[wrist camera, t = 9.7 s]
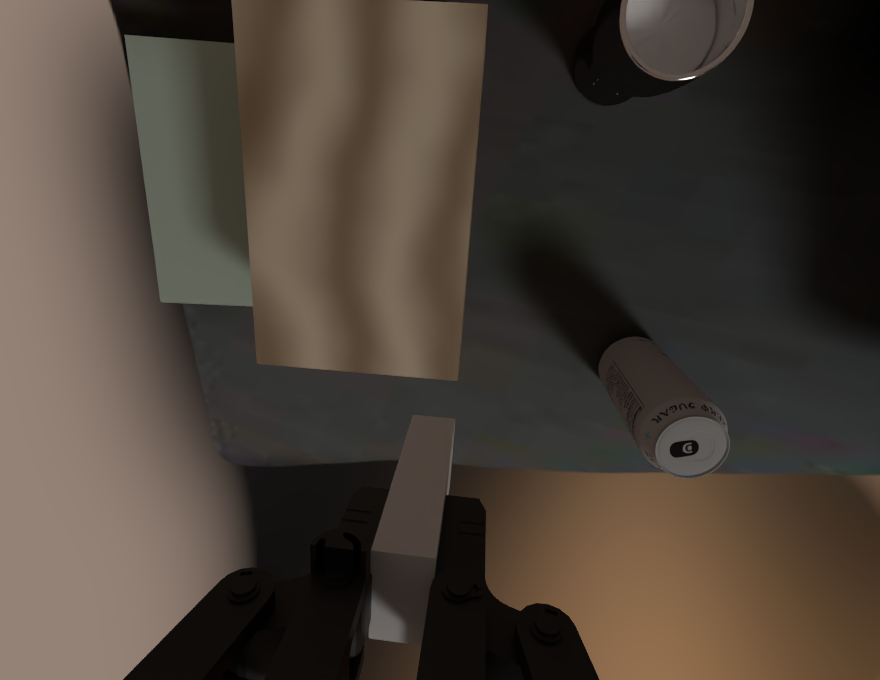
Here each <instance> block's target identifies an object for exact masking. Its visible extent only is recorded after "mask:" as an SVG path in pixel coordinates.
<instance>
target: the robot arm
mask: <svg viewBox="0 0 880 680" xmlns="http://www.w3.org/2000/svg"><path fill="white" fill-rule="evenodd" d="M454 429H455V419H450V418H440V417H431V416H422V415H413V416H412V420H411V423H410V426H409V429H408V433H407V436H406V439H405V442H404V445H403V449H402V452H401V455H400V458H399V462H398V465H397V468H396V472H395V475H394V478H393V481H392V484H391V487H390V490H389V489H381V488H380V489H379V488H372V487H363V486H362V487H361V488H360V489H359V490H358V491H357V492H356V493H354V494H353V495H352V496H351V498H350V500H349V503H348V505H347V507H346V511H345V513H344V515H343V517H342V521H341V522H340V524H339V526H338V529H332V530H329V531H325V532H323V533H322V534H320V535H319V536H317V537H316V538H315V539H314V540H313V542H312V543H311V545H310V551H311V573H310V574H308V575H305V576H303V577H300V578H296V579H291V580H284V581H277V582H274V580H273V578H272V576H271V574H270V573H268V572H267V571H265V570H263V569H259V568H245V569H240V570H237V571H235V572H233V573H230V574H229V575H227V576H226V577H225V578H223V579H222V580H221V581H220V582H219V583H218V584H217V585H216V586H215V587H214V588H213V589H212V590H211V591H210V592H209V593H208V594H207V595H206V596H205V597H204V598H203V599H202V600H201V601H200V602H199V603H198V604H197V605H196V606H195V607H194V608H193V609H192V610H191V611H190V612H189V613H188V614H187V615H186V616H185V617H184V618H183V619H182V620H181V621H180V622H179V623H178V624H177V625H176V626H175V627H174V628H173V629H172V631H170V632H169V633H168V634H167V636H166V637H164V638H163V639H162V640H161V641H160V643H159V644H158V645H157V646H156V647H155V648H154V649H153V650H152V651H151V652H150V653H149V654H148V655H147V656H146V657H145V658H144V659H143V660H142V661H141V662H140V663H139V664H138V665H137V666H136V667H135V668H134V669H133V670H132V671H131V672H130V673H129V674H128V675H127V676H126V677H125V678H124V679H123V680H359V678H360V674H361V670H362V666H363V662H364V646H365V644H364V643H365V640H366V636H367V632H368V629H369V638H372V639H379V640H386V641H393V642H401V643H408V644H416V645H422V647H421V653H420V660H419V667H418V673H417V680H599V678H598V676H597V673H596V671H595V669H594V667H593V664H592V662H591V660H590V658H589V656H588V653H587V651H586V649H585V647H584V644H583V642H582V640H581V638H580V636H579V633H578V631H577V629H576V626H575V625H574V623H573V622H572V620H571V619H570V618H569V616H567V615H566V614H565V613H564V612H562V611H561V610H560V609H558V608H556V607H553V606H551V605H548V604H538V603H536V604H532V605H529V606H526V607H525V608H524V609H523V610H521V611H518V610H516V609H514V608H511V607H509V606H507V605H505V604H503V603H502V602H500V601H499V600H498V599H496V598H495V597H494V596H493V595H492V593H491V592H490V591H489V589H488V587H487V585H486V581H485V533H486V528H485V525H486V511H485V509H484V507H483V505H482V504H481V502H480V500H479V499H476V498H468V497H459V496H451V495H448V493H449V486H450V474H451V463H452V452H453V440H454Z"/></svg>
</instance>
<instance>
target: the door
mask: <svg viewBox="0 0 880 680" xmlns="http://www.w3.org/2000/svg"><path fill="white" fill-rule="evenodd" d="M124 36H125V43H126V50H127V58H128V65H129V73H130V80H131V87H132V95H133V102H134V109H135V117H136V124H137V131H138V139H139V146H140V154H141V161H142V168H143V176H144V183H145V190H146V198H147V205H148V212H149V220H150V227H151V235H152V242H153V250H154V256H155V264H156V272H157V279H158V286H159V293H160V300H161V302H169V303H170V302H171V303H190V304H213V305H235V306H253V300H252V286H251V272H250V258H249V243H248V229H247V215H246V200H245V186H244V172H243V158H242V143H241V129H240V115H239V101H238V86H237V72H236V58H235V44H234V43H224V42H211V41H199V40H186V39H173V38H160V37H147V36H134V35H124Z"/></svg>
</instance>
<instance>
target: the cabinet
mask: <svg viewBox="0 0 880 680" xmlns="http://www.w3.org/2000/svg"><path fill="white" fill-rule="evenodd" d="M231 1H232V15H233V29H234V44H235V58H236V72H237V86H238V101H239V115H240V129H241V143H242V158H243V172H244V186H245V200H246V215H247V229H248V243H249V258H250V272H251V286H252V300H253V315H254V329H255V343H256V357H257V364H266V365H278V366H290V367H301V368H313V369H325V370H336V371H348V372H359V373H371V374H383V375H394V376H406V377H418V378H429V379H441V380H453V381H458V372H459V361H460V350H461V340H462V329H463V318H464V305H465V293H466V281H467V268H468V256H469V243H470V231H471V219H472V206H473V194H474V182H475V169H476V157H477V145H478V132H479V120H480V107H481V95H482V83H483V70H484V58H485V43H486V27H487V11H488V4H474V3H454V2H434V1H414V0H231Z"/></svg>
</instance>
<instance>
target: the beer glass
mask: <svg viewBox="0 0 880 680" xmlns="http://www.w3.org/2000/svg"><path fill="white" fill-rule="evenodd" d="M753 7H754V0H606V1H605V2H604V4H603V6H602V8H601V10H600V12H599V14H598V17H597V20H596V23H595V26H593V27H592V28H591V29H590V30H589V31H588V32H587V33H586V34H585V35H584V36H583V38H582V39H581V41H580V42H579V44H578V46H577V49H576V51H575V55H574V59H573V75H574V80H575V83H576V85H577V87H578V89H579V91H580V92H581V93H582V95H583V96H584V97H586V98H587V99H588V100H590V101H591V102H593V103H596V104H599V105H603V106H612V105H617V104H620V103H623V102H625V101H627V100H629V99H630V98H632V97H652V96H657V95H661V94H664V93H668V92H671V91H673V90H675V89H678V88H680V87H682V86H684V85H686V84H688V83H690V82H691V81H693V80H695V79H697V78H698V77H700V76H702V75H704V74H706V73H708V72H709V71H711V70H713V69H714V68H716V67H717V66H718V65H720V64H721V63H722V62H723V61H724V60H725V59H726V58H727V57H728V56H729V55H730V54H731V53H732V52H733V50H734V49H735V48H736V47H737V45H738V44H739V42H740V41H741V39H742V37H743V35H744V34H745V32H746V29H747V27H748V25H749V22H750V19H751V16H752V12H753Z"/></svg>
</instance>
